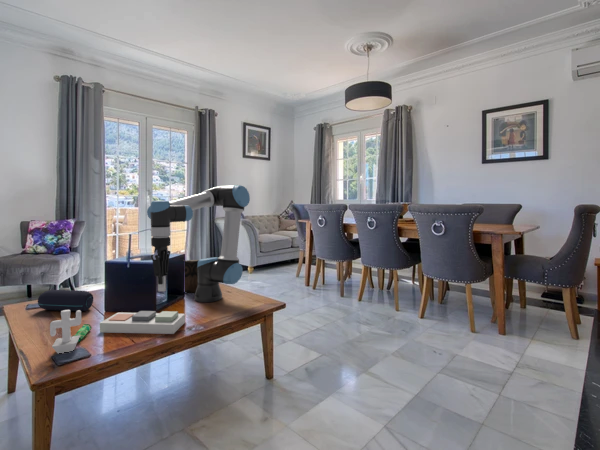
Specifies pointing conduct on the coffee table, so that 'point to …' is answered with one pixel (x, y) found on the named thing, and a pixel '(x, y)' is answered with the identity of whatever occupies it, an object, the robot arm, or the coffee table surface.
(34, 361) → the coffee table surface
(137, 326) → the keypad
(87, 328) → the candy
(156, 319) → the sage key
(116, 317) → the terracotta key
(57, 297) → the portable speaker
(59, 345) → the figurine
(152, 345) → the coffee table surface
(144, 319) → the charcoal key
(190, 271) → the owl
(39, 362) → the coffee table surface
